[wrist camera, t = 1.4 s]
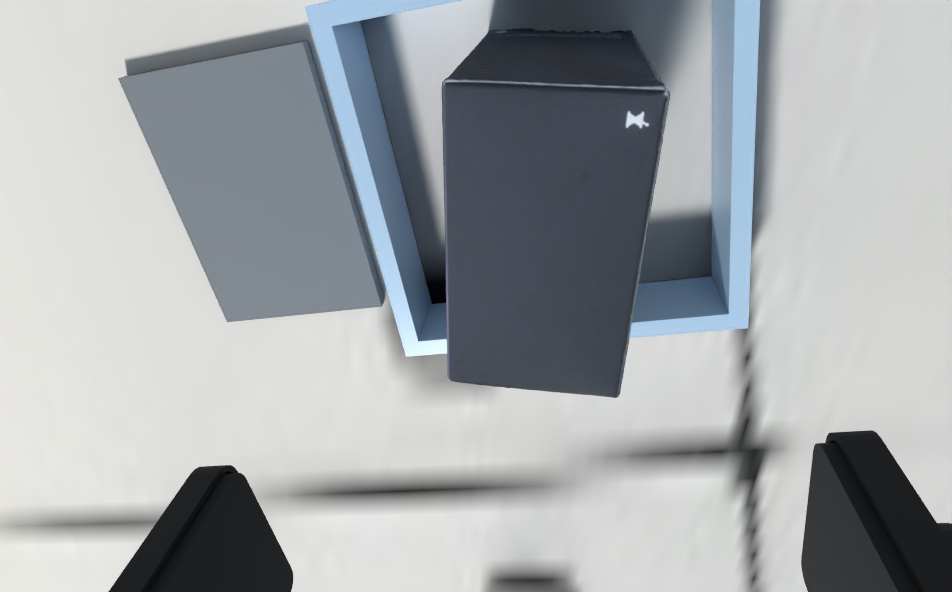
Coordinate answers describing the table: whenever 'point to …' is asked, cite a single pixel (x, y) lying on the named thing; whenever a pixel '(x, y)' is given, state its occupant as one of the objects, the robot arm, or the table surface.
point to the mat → (258, 181)
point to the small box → (547, 206)
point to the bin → (656, 302)
